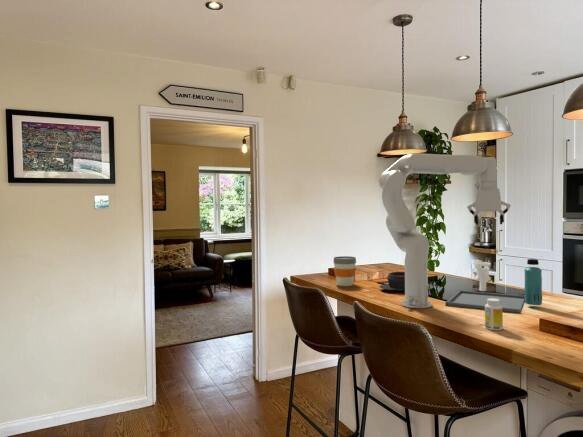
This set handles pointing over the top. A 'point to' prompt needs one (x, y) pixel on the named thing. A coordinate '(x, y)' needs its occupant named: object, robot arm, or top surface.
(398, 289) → the cup and saucer
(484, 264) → the white tall piece
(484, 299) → the grey square tray
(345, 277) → the reusable coffee cup
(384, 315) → the top surface
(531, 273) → the beverage bottle
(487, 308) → the supplement bottle
